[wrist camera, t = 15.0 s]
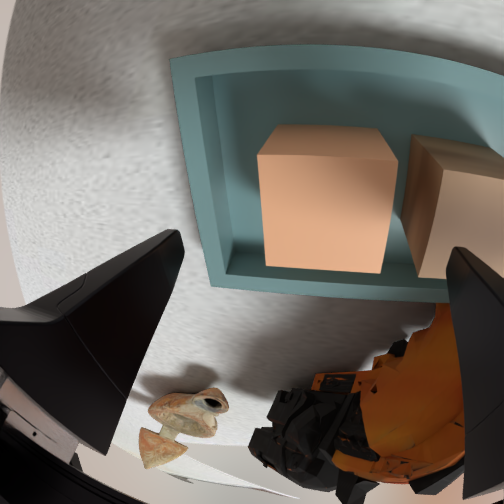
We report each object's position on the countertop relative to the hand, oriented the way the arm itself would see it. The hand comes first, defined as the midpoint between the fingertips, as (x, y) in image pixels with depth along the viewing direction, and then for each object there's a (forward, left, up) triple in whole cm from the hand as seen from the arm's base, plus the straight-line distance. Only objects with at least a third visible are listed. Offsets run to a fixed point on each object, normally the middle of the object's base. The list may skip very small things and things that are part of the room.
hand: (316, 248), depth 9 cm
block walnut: (-6, 0, -6) cm, 9 cm away
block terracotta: (0, 0, -6) cm, 6 cm away
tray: (-3, 0, -7) cm, 7 cm away
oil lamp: (+14, +29, -7) cm, 33 cm away
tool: (-4, +16, -7) cm, 18 cm away
